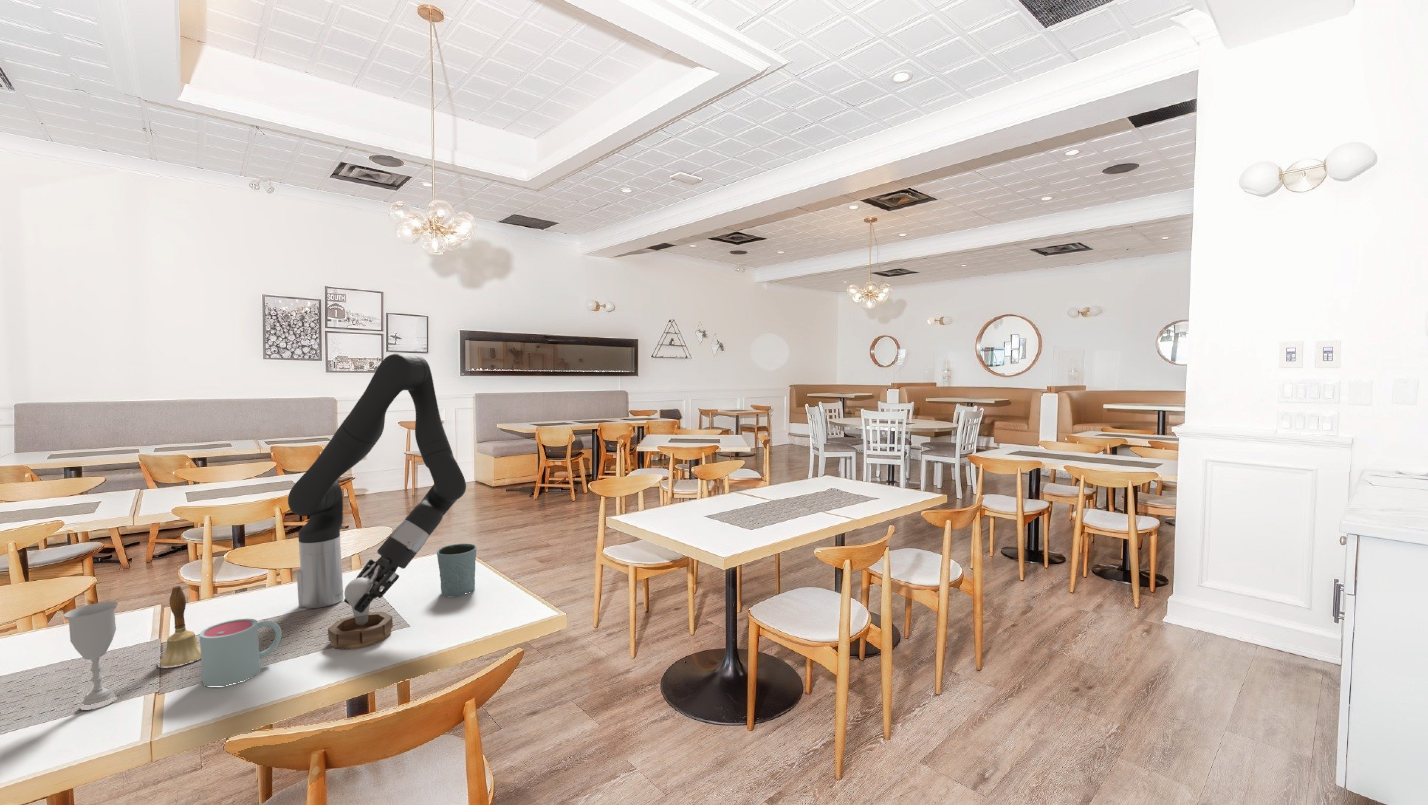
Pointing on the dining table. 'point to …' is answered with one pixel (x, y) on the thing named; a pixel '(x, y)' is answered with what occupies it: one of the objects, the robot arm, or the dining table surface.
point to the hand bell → (180, 635)
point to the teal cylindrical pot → (457, 569)
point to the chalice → (93, 641)
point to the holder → (360, 631)
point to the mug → (233, 650)
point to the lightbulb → (357, 598)
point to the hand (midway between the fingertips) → (352, 607)
